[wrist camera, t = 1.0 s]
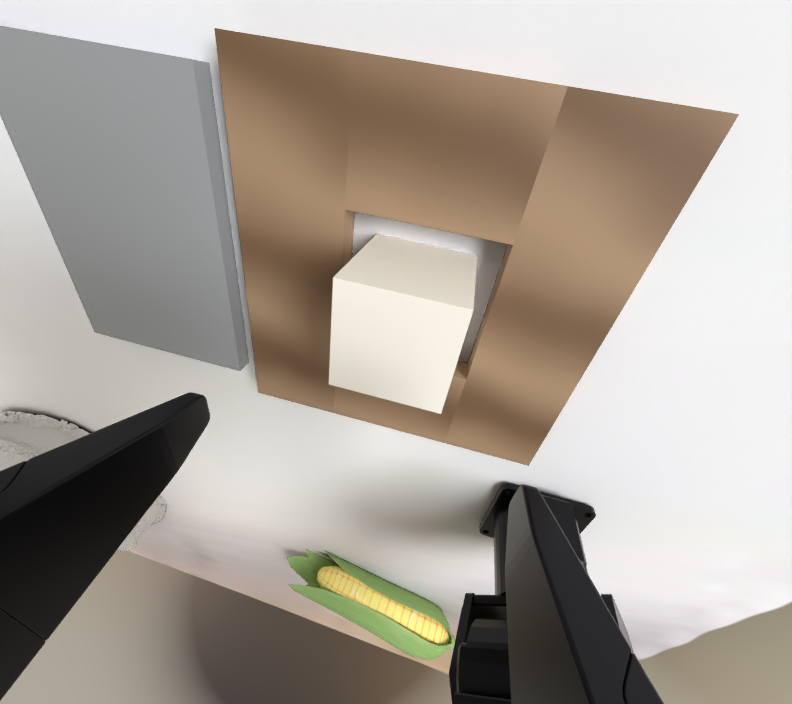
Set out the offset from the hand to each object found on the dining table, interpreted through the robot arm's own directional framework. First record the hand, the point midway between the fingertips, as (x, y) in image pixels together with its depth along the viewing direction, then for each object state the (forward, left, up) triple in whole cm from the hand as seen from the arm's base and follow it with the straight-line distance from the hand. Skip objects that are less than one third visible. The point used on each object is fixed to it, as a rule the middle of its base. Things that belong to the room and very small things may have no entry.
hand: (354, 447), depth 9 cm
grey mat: (0, +16, -11) cm, 19 cm away
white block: (0, 0, -11) cm, 11 cm away
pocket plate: (0, 0, -11) cm, 11 cm away
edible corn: (-35, -2, -11) cm, 37 cm away
